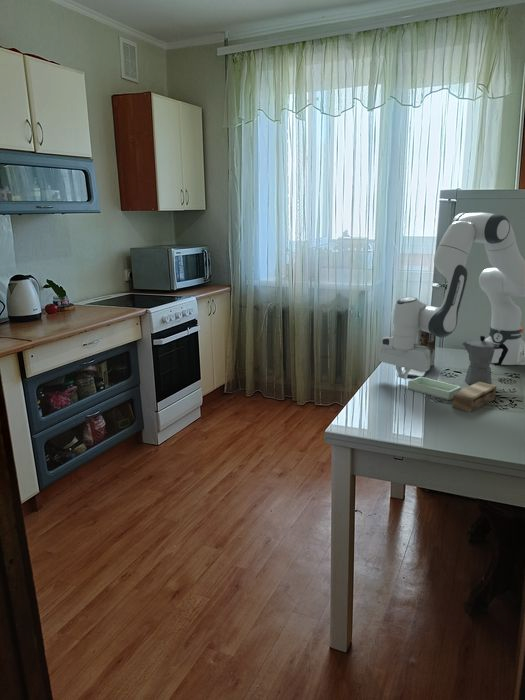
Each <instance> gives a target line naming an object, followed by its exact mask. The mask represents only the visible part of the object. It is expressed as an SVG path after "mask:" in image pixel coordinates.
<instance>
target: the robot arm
mask: <svg viewBox="0 0 525 700" xmlns="http://www.w3.org/2000/svg"><path fill="white" fill-rule="evenodd" d="M473 244H484V249H485V253H486V255H487V259H488V262H489V264H490V266H492V267H487V268H485V269H483V270H482V271H481V273H480V274H479V277H478V285H479V288H480V289H481V290H482V291H483V292H484V293H485V295H486V296H487V298H488V301H489V303H490V307H491V319H490V320H491V322H490V327H489V329H488V337H485V339H484V341H487V342H492V343H498V344H505V346H506V347H507V348H508V352H507V354H506V356H505V358H504V360H503V362H502V364H501V365H502V366H516V365H517V366H525V341H524V339H522V334H523V333H524V330H525V329H524V328H523V327H521V323H522V310H521V308H520V306H518V305H517V304H515V303H514V301H513V300H512V297H520V298H525V259H524V258H523V256H522V255H521V253H520V249H519V247H518V243H517V240H516V235H515V232H514V229H513V227H512V224H511V223H510V221H509V219H508V218H507V217H506V216H505V215H503V214H499V213H490V212H482V211H481V212H480V211H479V212H461V213H458V214H457V215H455V216H454V217H453V219H451V221H450V225H448V228H447V229H446V231H445V233H444V234H443V236H442V238H441V239H440V241H439V244H438V246H437V248H436V251H435V254H434V257H433V264H434V267H435V269H436V270H437V271H438V273H440V274H441V275H442V276H443V277H445V279H446V281H447V285H446V286H447V287H446V290H445V293H444V297H443V300H442V303H441V306H440V307H438V306H433V305H430V304H426V303H425V302H422V301H420V300H419V299H418V298H417V297H415V296H406V297H401V298H399V299H397V301H396V303H395V305H394V312H393V331H392V335H389V336H385V337H382V338H380V345H379V348H378V360H379V362H381V363H385V364H388V365H392V366H395V370H396V371H397V374H398V375H397V378H399V379H404V380H407V379H408V378H407V376H408V373H409V371H410V370H411V369H413V370H417V371H421V372H425V371H428V370H429V371H430V369H431V366H430V350H429V349H428V348H427V347H426V346H421V345H418V344H417V340H418V331H419V330H422V331H425V332H428V333H431V334H433V335H435V336H436V337H437V338H446V337H448V336H450V335H452V333H453V332H455V330H456V328H457V325H458V319H459V318H458V316H459V311H460V306H461V303H462V299H463V296H464V293H465V288H466V286H467V285H466V284H467V280H468V270H467V268H466V266H467V265H466V264H467V262H468V257H469V255H470V252H471V250H472V247H473ZM502 351H503V349H495V350H494V354H493V358H492V361H491V363H490V364H494V363H498V362H499V358H500V356H501V353H502ZM501 365H500V366H501ZM402 368H404V370H406V371H405V372H404V373H403V371H404V370H402ZM429 371H428V372H429Z"/></svg>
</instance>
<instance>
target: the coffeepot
mask: <svg viewBox="0 0 525 700" xmlns="http://www.w3.org/2000/svg"><path fill="white" fill-rule="evenodd" d="M479 338H480V340H471V341H466V342H463V343H462V345H463V346H464V348H465V350H466V352H467V354H468V360H469V363H470V364H469V365H468V368H467V371H466V375H465V378H464V382H465V383H466V384H467V385H469V386H471V385H473V384H475V383H477V382H483V383H487V384H491V385H493V384H492V383H493V382H492V371H491V369H492V368H491V367H490V366H491V364H492V363H491V361H492V358H493V354H494V350H495V349H503V351H502V353H501V356H500V358H499V362H498V363H493V364H494V366H497V367H499V366H501V364H502V362H503V360H504V358H505V356H506V354H507V352H508V348H507V347H506V346H505V344H498V343H492V342H487V341H485V340H486V336H484V335H480V336H479Z"/></svg>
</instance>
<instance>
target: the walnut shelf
mask: <svg viewBox="0 0 525 700" xmlns="http://www.w3.org/2000/svg"><path fill="white" fill-rule="evenodd" d="M496 390H497V385H494V384H487V383H483V382H477V383H475V384H473V385H469V386H467V387H464V388H461V390H460V391H458V392H456V393H454V396H453V400H452V408H454V409H458V410H462V411H465V412H468V413H472V412H473V411H475V410H477V409H479V408H481V407H482V406H485V405H486V404H488V403H490V402H492V401H494V400H495V399H496Z"/></svg>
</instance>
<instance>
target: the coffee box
mask: <svg viewBox="0 0 525 700" xmlns="http://www.w3.org/2000/svg"><path fill="white" fill-rule="evenodd" d="M436 337H437V336H435V335H433V334H431V333H428V332H425V331H422V330H419V331H418V340H417V344H418V345H421V346H426V347H427V348H428V349H429V350H430V367H433V366H435V357H436V341H437V340H436V339H437V338H436Z"/></svg>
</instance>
